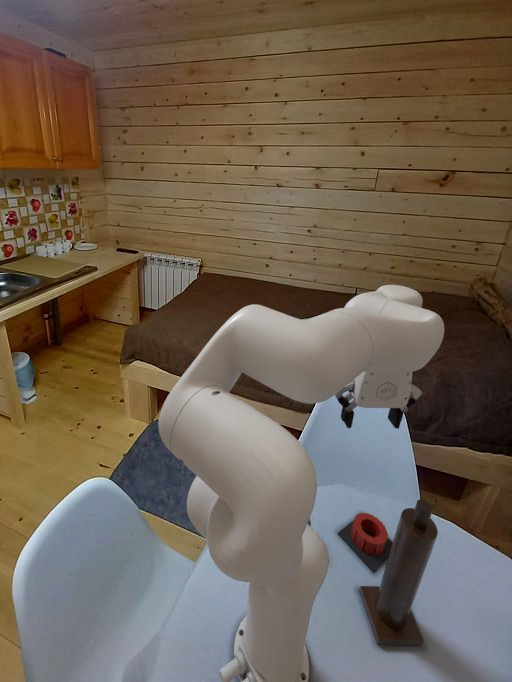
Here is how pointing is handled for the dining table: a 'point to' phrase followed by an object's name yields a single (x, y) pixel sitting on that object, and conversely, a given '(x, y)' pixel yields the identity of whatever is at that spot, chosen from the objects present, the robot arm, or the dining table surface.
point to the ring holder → (401, 579)
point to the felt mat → (369, 560)
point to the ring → (365, 541)
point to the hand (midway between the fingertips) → (369, 423)
